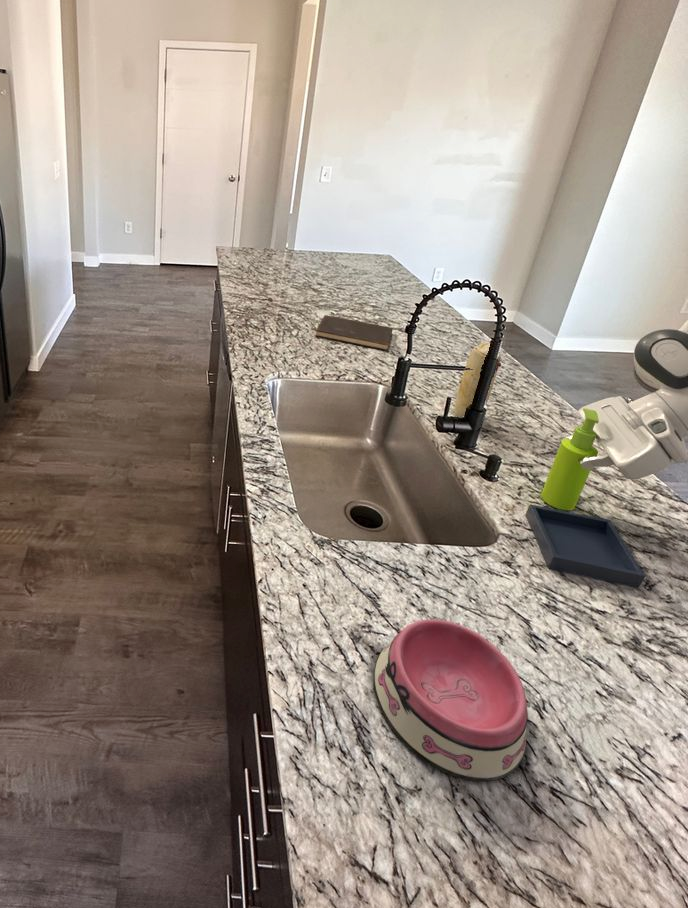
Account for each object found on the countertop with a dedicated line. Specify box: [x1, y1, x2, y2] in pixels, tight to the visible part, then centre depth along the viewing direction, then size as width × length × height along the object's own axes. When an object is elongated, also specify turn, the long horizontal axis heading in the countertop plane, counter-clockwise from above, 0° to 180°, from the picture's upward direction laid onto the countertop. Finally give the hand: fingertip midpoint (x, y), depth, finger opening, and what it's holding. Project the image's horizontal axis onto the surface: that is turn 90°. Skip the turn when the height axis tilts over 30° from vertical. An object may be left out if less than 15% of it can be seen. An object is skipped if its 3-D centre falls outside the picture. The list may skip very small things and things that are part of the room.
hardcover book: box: [314, 314, 394, 352], centre depth 181 cm, size 16×23×2 cm
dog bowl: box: [372, 618, 529, 782], centre depth 70 cm, size 18×19×7 cm
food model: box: [453, 342, 502, 418], centre depth 132 cm, size 10×7×20 cm
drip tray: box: [525, 503, 646, 589], centre depth 97 cm, size 14×14×3 cm
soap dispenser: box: [540, 408, 599, 511], centre depth 105 cm, size 6×7×20 cm
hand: (573, 453), depth 105 cm, fingers closed on soap dispenser, 6 cm apart
